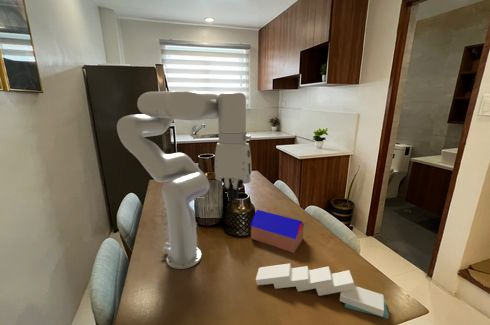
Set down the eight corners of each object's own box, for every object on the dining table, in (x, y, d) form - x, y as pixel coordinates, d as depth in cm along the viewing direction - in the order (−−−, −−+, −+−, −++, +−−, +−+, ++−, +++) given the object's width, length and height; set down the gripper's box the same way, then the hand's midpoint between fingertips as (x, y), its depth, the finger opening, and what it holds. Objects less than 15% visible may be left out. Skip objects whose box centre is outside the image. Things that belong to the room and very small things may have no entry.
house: (262, 227, 111) (262, 204, 108) (303, 239, 101) (305, 214, 99) (249, 239, 101) (250, 214, 98) (294, 254, 91) (296, 227, 89)
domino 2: (273, 283, 74) (307, 279, 71) (275, 270, 80) (307, 266, 76) (275, 288, 74) (309, 284, 71) (276, 275, 80) (309, 271, 77)
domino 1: (255, 279, 75) (288, 275, 72) (259, 267, 81) (290, 263, 77) (257, 285, 76) (290, 281, 72) (260, 272, 81) (291, 268, 78)
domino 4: (316, 290, 71) (353, 282, 68) (314, 277, 76) (349, 270, 74) (318, 295, 71) (355, 288, 68) (316, 282, 77) (351, 275, 74)
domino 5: (340, 295, 68) (383, 310, 63) (342, 281, 73) (383, 294, 68) (339, 301, 68) (382, 316, 63) (342, 287, 74) (382, 300, 68)
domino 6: (345, 304, 67) (388, 315, 64) (343, 288, 73) (384, 298, 69) (344, 309, 68) (387, 320, 64) (343, 294, 73) (383, 303, 70)
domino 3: (295, 286, 73) (331, 279, 70) (295, 273, 79) (328, 266, 76) (298, 291, 73) (333, 285, 70) (297, 278, 79) (330, 271, 76)
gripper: (261, 138, 66) (260, 198, 71) (214, 135, 71) (215, 192, 75) (254, 142, 59) (253, 208, 64) (201, 139, 64) (204, 201, 69)
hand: (232, 199), depth 70 cm, fingers closed
